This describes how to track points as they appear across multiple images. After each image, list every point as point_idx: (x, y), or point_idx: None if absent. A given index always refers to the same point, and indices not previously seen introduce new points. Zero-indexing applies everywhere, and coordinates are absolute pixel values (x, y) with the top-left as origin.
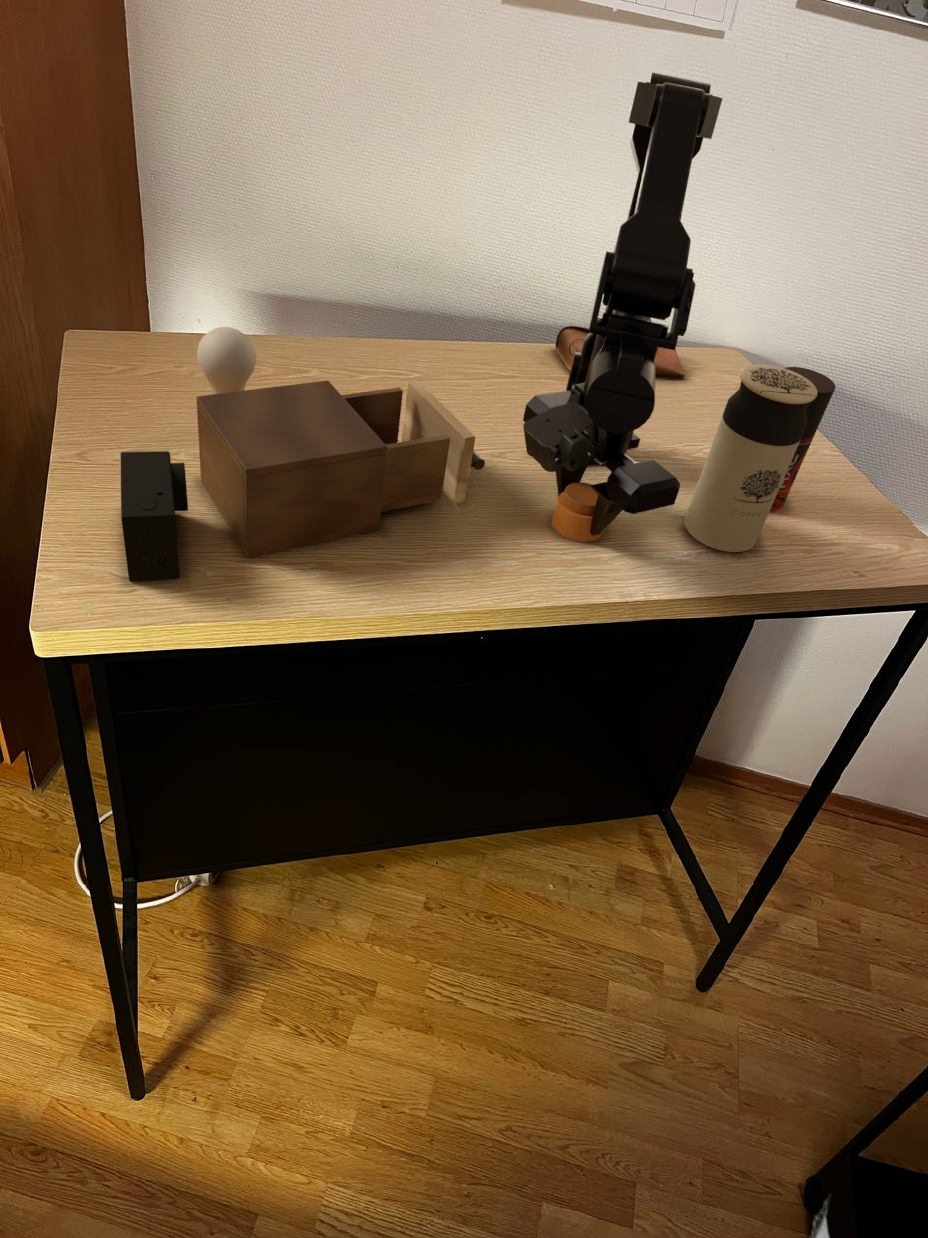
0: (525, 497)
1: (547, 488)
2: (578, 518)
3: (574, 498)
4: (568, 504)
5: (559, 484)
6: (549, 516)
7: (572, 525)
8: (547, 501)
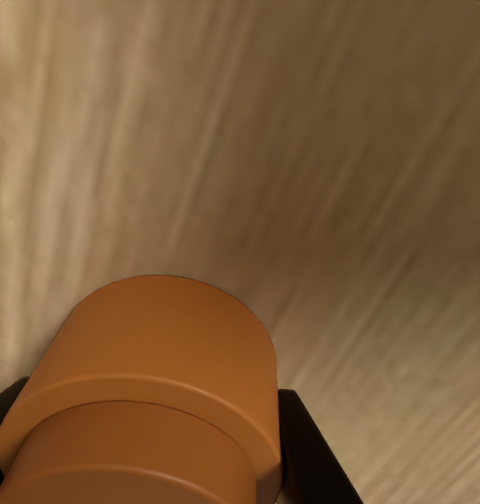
0: (457, 302)
1: (446, 409)
2: (26, 392)
3: (86, 486)
4: (111, 421)
5: (319, 484)
6: (280, 312)
7: (64, 341)
8: (375, 363)
